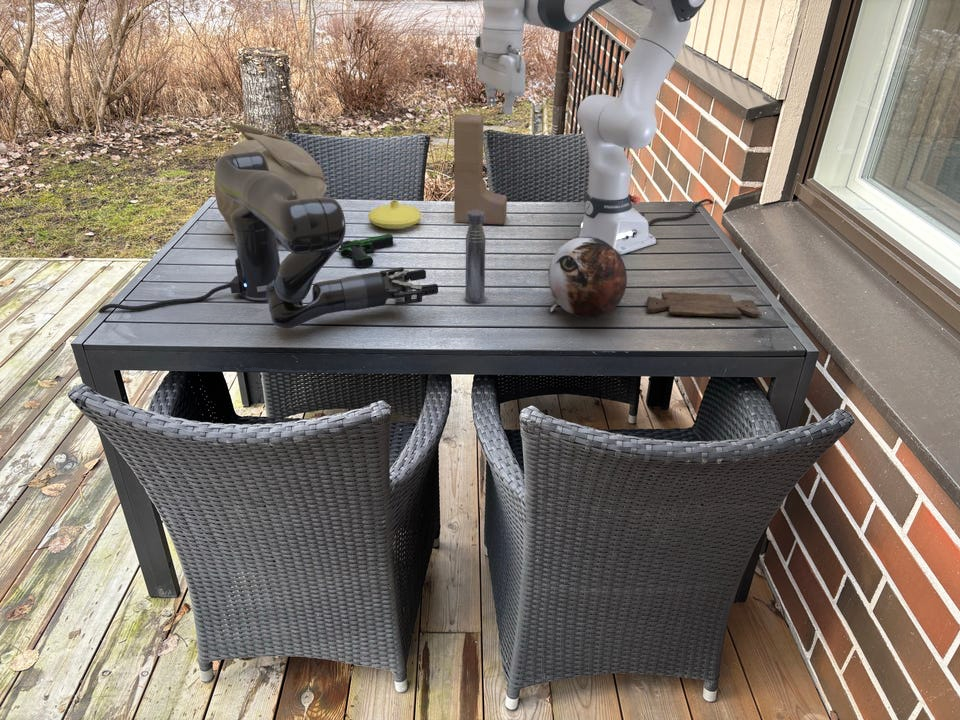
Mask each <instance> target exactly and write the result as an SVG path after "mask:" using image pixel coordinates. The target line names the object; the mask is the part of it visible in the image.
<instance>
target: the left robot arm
mask: <svg viewBox="0 0 960 720" xmlns="http://www.w3.org/2000/svg"><path fill="white" fill-rule="evenodd" d="M223 155H224V154H223ZM223 155H222V156H219V157H218V159H217V160H216V162H215V165H214V178H215V177H216V180H217V183H218V185H219V187H220V189H221V190H222V192H223V193H224V194H225V195H226V196H227V197H228V198H230V199H232V200H235V201H237V202H239V203H240V204H242V205H243V206H242V207H240V208H238V209H236V210H235V211H234V212H233V213H232V215H231V222H232V227H233V232H232V233H234V234H233V238H234V245H235V250H236V255H237V257H236V258H235V260H234V264H235V271H236V275H235V276H234V277H233V278H232V280H230V282H229V283H226V284H222V285H220V286H219V285H218V286H216V287H214V288H212V289H210V290H209V291H208V292H207V293H205V294H204V295H201V296H197V297H189V298H174V299H167V300H161V301H156V302H153V303H147V304H142V305H141V304H140V305H126V304H119V303H108V304H105V305H103V306H101V307H100V308H99V309H98V311H97V313H98V314H102V313H104V312H105V311H107V310H109V309H119V310H124V311H141V310H148V309H152V308H157V307H162V306H167V305H172V304H185V303H186V304H188V303H197V302H201V301H205V300H207V299H209V298H210V297H211V296H212V295H214V294H215V293H217V292H220V291H223V290H227V289H230V292H231V294H240V298H242V299H247V300H248V301H251V302H252V301H253V302H266V301H267V305H268V309H269V314H270V318H271V322H272V323H273V325H274V326H275V327H277V328H280V329H284V330H290V329H294V328H296V327H299V326H301V325H303V324H305V323H307V322H309V321H311V320H314V319H316V318H317V319H318V318H319V317H322V316H324V315H328V314H333V313H335V314H336V313H340V312H347V311H351V312H352V311H360V310H366V309H371V308H378V307H384V306H385V305H386V304H387V301H388V300H389V299H390V300H394V303H395V305H396V306H403V305H410V304H417V303H422V302H423V297H426V296H432V295H438V293H439V285H438V284H437V283H431V284H425V285H414V284H413V283H412V282H413V281H420V280H421V281H422V280H425V279H426V278H427V271H426V269H424V268H423V269H422V268H421V269H414V270H409V269H405V267H404V266H403V267H396V268H390V269H384V270H379V271H375V272H369V273H363V274H362V273H361V274H356V275H349V276H345V277H341V278H337V279H336V278H335V279H329V280H322V281H318V282H315V283H314V280H315V278H316V277H317V276H318V273H319V272H320V271H321V270H322V268H323V267H324V266H325V265H326V263H327V262H328V261H329V260H330V259H331V258H332V256H333V255H334V254H335V253H336V252H337V250H339V249H338V248H341V247H340V245H341V244H342V242H344V239H345V236H346V231H347V230H346V229H347V226H346V217H345V213H344V211H343V208H342V206H341V204H340V203H339V202H338V200H337V199H335V198H333V197H328V196H323V197H316V198H308V199H299V200H298V197H297V193H296V191H295V189H294V188H293V186H292V185H291V184H290V183H289V182H288V181H286V180H285V179H283V178H282V177H280V176H279V175H277V174H275V173H272V172H269V167H268V163H267V160H266V158H265V156H264V155H263V154H262V153H261V152H259V151H252V152H244V153H236V154H228V155H224V156H223ZM278 242H279V243H280V244H281V246H282V247H283V248H284V249H285V250H286V251H288V252H289V254H288V255H287V256H285V258H284V259H283V260H282V261H281V260H280V253H279V245H278ZM313 283H314V284H313ZM310 291H311V301H310V302H308V303H307V304H304V302H303V301H304V300H305V299H306V297H307V296H308V295H309V293H310Z"/></svg>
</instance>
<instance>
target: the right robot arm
mask: <svg viewBox="0 0 960 720" xmlns="http://www.w3.org/2000/svg"><path fill="white" fill-rule="evenodd" d="M612 1H613V0H482V6H483V13H484V16H483V17H484V18H483V21H482V25H481V33H480V34H478V35H477V36H476V37H475V39H474V46H475V48H476V49H477V50H476V76H477V81H478V82H479V83H482V84H484V90H485V91H484V92H485V95H486V105H487V106H489V107H496V106H497V97H496V91H499V92H501V93H502V94H504V95H503V98H504V102H503V104H502V105H501V106H502V107H501V108H502V109H501V112H502V114H503V115H505V116H511V115H513V106H514V104H515V101H516V97H521V96H524V94H525V92H526V83H527V82H526V79H527V78H526V61H525V58H524V57H523V55H522V53H523V43H524V42H523V41H524V25H525V24H526V25H530V26H535V27H540V28H546V29H551V30H553V31H556V32H559V33H568V32H571V31H573V30H574V29H576V28H577V27H579V25H580V24H581V23H583V21H584V20H585V19H586V18H587V17H588V16H589V15H590V14H591V13H592V12H594V11H596V10H597V9H599V8H601V7H603V6H604V5H606V4H608V3H611V2H612ZM631 1H632V2H633V3H635V4H636V5H639V6H645V7H647V8H648V9H649V8H650V9H651V15H650V19H649V21H648V22H647V24H646V25H645V26H644V28H643V29H642V31H641V32H640V34H639V36H638V38H637V39H636V41H635V43H634V45H633V46H632V48H631V49H630V52H629V53H628V54H627V57H626V58H625V60H624V62H623V64H622V66H621V71H620V73H621V77H622V78H623V85H622V88H621V92H620V94H619V96H618V97H617V96H613V95H609V94H605V93H604V94H603V93H602V94H591V95H588V96H586V97H585V98H584V99H583V100H582V101H581V103H580V104H579V106H578V109H577V112H576V119H577V123H578V125H579V127H580V129H581V130H582V133H583V136H584V139H585V144H586V149H587V156H588V167H589V168H588V182H587V191H586V192H585V196H584V216H583V220H582V223H581V225H580V231H579V234H578V237H594V238H598V239H601V240H604V241H605V242H607V243H608V244H610V245H611V246H612V247H613V248H614V249H615V250H616V251H617V252H618V253H619V255H625V254H628V253H631V252H634V251H637V250H640V249H643V248H646V247H650V246H652V245H655V244H656V243H657V239H656V237H655V236H654V235H653V234H651V233H650V232H649V230H650V229H649V228H650V226H651V225H652V224H653V223H655V222H658V221H674V220H681V219H685V218H688V217H691V216H693V215H694V214H695V213H696V208H697V206H699V205H701V204H704V203H706V202H708V203H710V204H714V201H713V200H712V199H710V198H705V199H702V200H700V201H698V202H696V203H695V204H693V206H692V211H691V212H689V213H688V214H687V213H686V214H685V215H679V216H680V217H679V216H672V217H671V216H670V217H669V216H668V217H667V216H666V217H656V218H653V219H650V221H649V222H648V220H647V218H646V217H645V213H643V212H639V211H637V210H636V208H634V207H633V203H634V205H639V203H640V202H641V198H640V197H639V196H637V195H636V194H635V195H631V194H630V192H629V191H630V183H631V175H632V165H631V163H630V160H629V158H628V157H627V154H626V152H625V149H631V150H641V149H644V148H646V147H647V146H649V144H650V143H651V142H652V141H653V140H654V138H655V136H656V133H657V129H658V120H657V117H656V112H655V111H656V103H657V99H658V95H659V92H660V90H661V88H662V85H663V83H664V82H665V81H666V78H667V76H668V75H669V73H670V71H671V70H672V68H673V66H674V64H675V62H676V60H677V59H678V56H679V55H680V53H681V51H682V49H683V47H684V46H685V45H684V44H685V43H686V40H687V37H688V35H689V32H690V30H691V26H692V25H691V24H692V21H691V20H692V19H693V18H694V17H695V16H696V15H697V14H698V12H699V11H700V10H701V9H702V7H703V6H704V5H705V3H706V1H707V0H631ZM697 203H698V204H697Z"/></svg>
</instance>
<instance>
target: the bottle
mask: <svg viewBox="0 0 960 720" xmlns="http://www.w3.org/2000/svg"><path fill="white" fill-rule="evenodd" d="M483 226H484V225H483V223H482V224H477V225H475V224H470V223H469V225H468V229H467V231H466V235H465V294H464V295H465V297H464V298H465V302H466V303H469V304H472V305H479V304H482V303H484V302H485V289H486V288H485V287H486V286H485V285H486V284H485V283H486V281H485V280H486V234H485V230H484V227H483Z"/></svg>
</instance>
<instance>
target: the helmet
mask: <svg viewBox="0 0 960 720" xmlns="http://www.w3.org/2000/svg"><path fill="white" fill-rule="evenodd" d="M229 126H230V127H233V128H235V129H237V130H238V131H239V132H240V134H242V135H243V136H244V137H245V139H246V140H245V141H240V142H237V143H235V144H234V145H233V146H231V147H230V148H229V149H228V150H227V151H226V152H225V153H224V154H223V155H222V156H224V155H228V154H236V153H244V152H252V151H259V152H261V153H262V154H263V155H264V156H265V158H266V160H267V163H268V167H269V172H272V173H275V174H277V175H279V176H280V177H282V178H283V179H285V180H286V181H288V182H289V183H290V184H291V185H292V186H293V188H294V189H295V191H296V193H297V197H298V200H299V199H308V198H316V197H325V195H326V193H327V190H328V185H327V182H326V180H325V175H324V173H323V172H324V171H323V169H322V167H321V166H320V165H319V164H318V163H317V161H316V160H315V159H314V157H313V156H312V155H311V154H310V153H309V152H308V151H306V150H305V149H304V148H302V147H301V146H299V145H298V144H296V143H293V142H291V141H290V140H289V139H287V138H285V137H283V136H281V135H277V134H274V133H270V132H268V131H267V130H264V129H261V128H258V127H255V126H251V125H246V124H238V123H237V124H236V123H230V125H229ZM213 187H214V195H215V200H216V206H217V210H218V211H219V213H220V214H221V216H222V218H223V219H224V220H225V222H226V224H227V226H228V227H229V229H230V230H231V232H232V233H233V227H232V222H231V215H232V213H233V212H234V211H235V210H236V209H238V208H240V207H242V206H243V205H242V204H240V203H239V202H237V201H235V200H232V199H230V198H228V197H227V196H226V195H225V194H224V193H223V192H222V190H221V189H220V187H219V185H218V183H217V180H216V177H215V176H214V180H213ZM233 235H234V233H233Z"/></svg>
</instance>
